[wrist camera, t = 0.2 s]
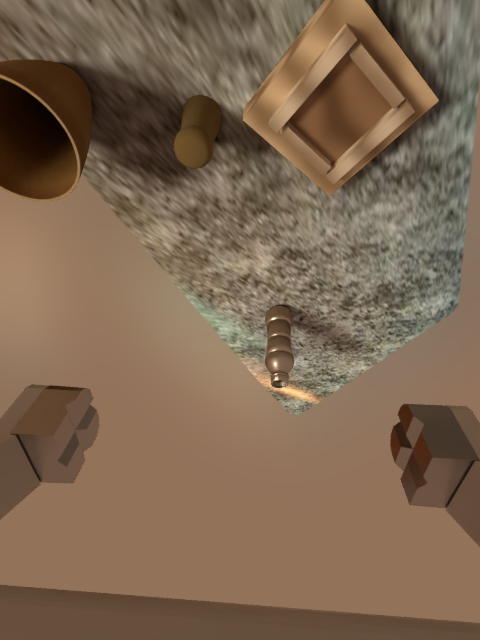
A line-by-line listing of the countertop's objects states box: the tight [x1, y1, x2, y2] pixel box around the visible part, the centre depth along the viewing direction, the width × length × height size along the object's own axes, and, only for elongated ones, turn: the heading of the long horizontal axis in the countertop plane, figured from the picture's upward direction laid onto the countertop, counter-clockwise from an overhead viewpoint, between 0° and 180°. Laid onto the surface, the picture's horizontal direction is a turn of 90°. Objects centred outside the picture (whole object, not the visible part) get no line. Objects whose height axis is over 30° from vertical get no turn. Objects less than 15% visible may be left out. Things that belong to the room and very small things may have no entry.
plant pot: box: [0, 60, 92, 201], centre depth 46 cm, size 15×15×16 cm
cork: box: [174, 95, 222, 169], centre depth 49 cm, size 6×6×11 cm
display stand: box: [243, 0, 439, 196], centre depth 47 cm, size 18×18×6 cm
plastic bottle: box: [265, 306, 294, 388], centre depth 80 cm, size 6×7×20 cm
